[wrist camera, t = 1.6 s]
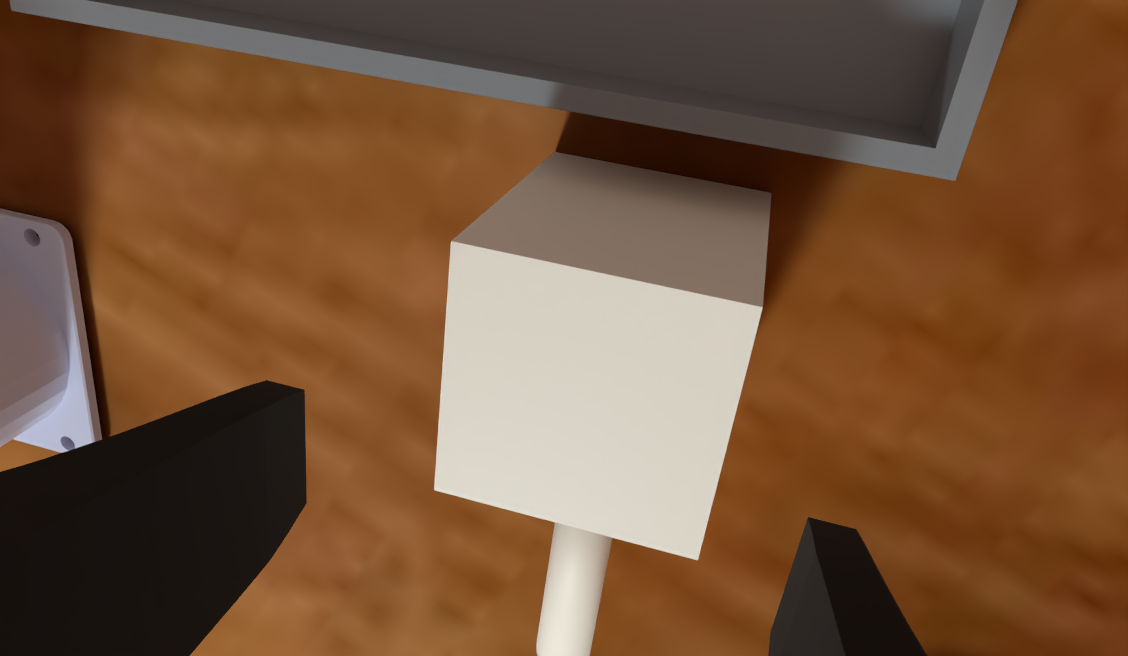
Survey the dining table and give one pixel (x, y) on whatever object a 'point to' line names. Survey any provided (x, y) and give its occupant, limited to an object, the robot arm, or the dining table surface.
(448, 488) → the white mallet
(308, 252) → the dining table surface
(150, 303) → the dining table surface
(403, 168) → the dining table surface
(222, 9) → the bin
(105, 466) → the robot arm
